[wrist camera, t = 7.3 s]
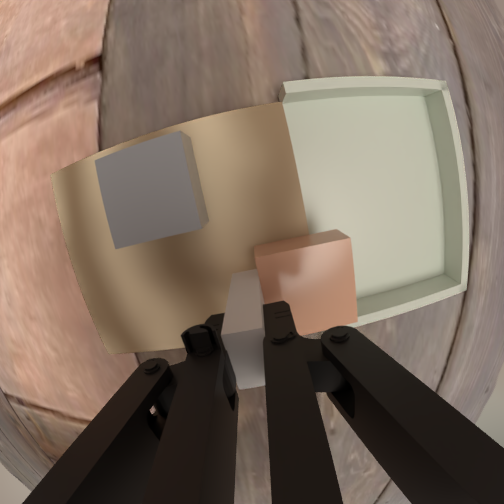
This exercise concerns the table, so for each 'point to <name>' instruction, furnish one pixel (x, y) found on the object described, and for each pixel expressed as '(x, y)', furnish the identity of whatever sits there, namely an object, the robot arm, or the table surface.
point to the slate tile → (152, 190)
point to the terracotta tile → (310, 279)
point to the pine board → (190, 243)
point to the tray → (384, 184)
